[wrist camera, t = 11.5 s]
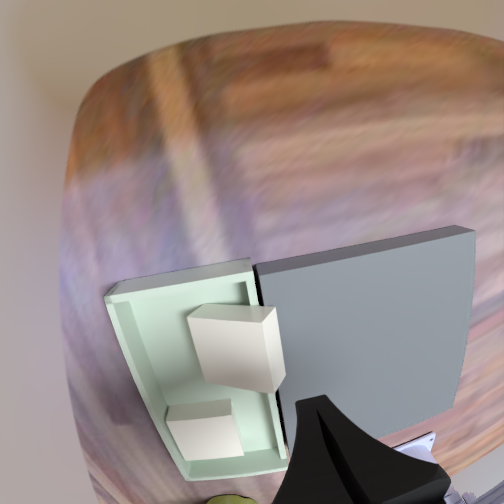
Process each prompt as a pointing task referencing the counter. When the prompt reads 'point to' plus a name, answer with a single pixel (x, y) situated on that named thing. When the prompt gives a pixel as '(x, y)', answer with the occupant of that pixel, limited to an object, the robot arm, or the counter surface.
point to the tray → (192, 361)
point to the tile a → (206, 429)
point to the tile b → (239, 346)
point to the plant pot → (230, 500)
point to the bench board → (374, 327)
